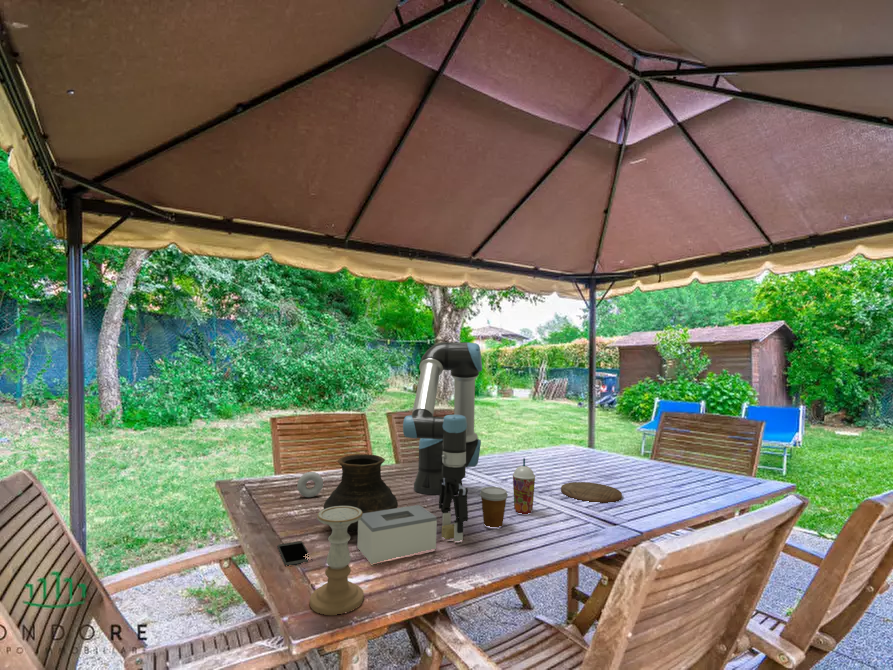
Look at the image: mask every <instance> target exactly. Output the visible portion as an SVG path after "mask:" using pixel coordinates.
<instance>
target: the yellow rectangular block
mask: <svg viewBox="0 0 893 670" xmlns="http://www.w3.org/2000/svg"><path fill="white" fill-rule="evenodd" d="M441 537H444V538H445V539H450V538H454V523H452V524H451V525H446V526H441Z"/></svg>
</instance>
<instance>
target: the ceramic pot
mask: <svg viewBox="0 0 893 670" xmlns="http://www.w3.org/2000/svg"><path fill="white" fill-rule="evenodd" d="M385 461H386V458H384V457H382V456H380V455H376V454H370V453H369V454H368V453H367V454H366V453H362V454H356V453H355V454H351V455H350V454H349V455H345V456H342V457H341V458H339V459H338V461H337V463H338V464H339V465H340V466H341V471H342V472H341V479H340V480H341V481H340V483H339V484H337V487H336V488H335V489H334V490H333V491H332V492H331V493H330V495H329V496H328V498H327V499H326V500H325V502H324V503H323V509H326V508H329V507H334V506H352V507H356V508H359V509H361V510H362V512H363V513H369V512H376V511H382V510H389V509H395V508H399V504H398V500H397V497H396V495H394V494H393V491H392V489H391V488H390V487H389V486H388V485H387V484H386V483H385V481H384V480H383V479H382V473H381V470H382V469H381V468H382V467H381V466H382V464H384V463H385ZM347 531H349V532H354V533H358V521H357V522H354V523H351V524H350V525H349V526H348V528H347Z"/></svg>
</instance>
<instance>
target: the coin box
mask: <svg viewBox="0 0 893 670" xmlns="http://www.w3.org/2000/svg"><path fill="white" fill-rule="evenodd" d="M437 518H438V517H437V515H435V514H433V513H431V512H430V511H429V510H427V509H426V508H425V507H423V506H422V505H420V504H415V505H410V506H404V507H397V508H395V509H389V510H382V511H376V512H369V513H363V516H362V518H361V519H360V520H359V521H358V532H357V544H356V545H357V546H356V548H357V547H358V549H359V550H360V551H361V552H362V553H363V555H364V556H365V557H366V558H367V559H368V561H369V562H370V563H371V564H373V563H377V562H380V561H384V560H388V559H392V558H396V557H401V556H405V555H410V554H414V553H418V552H421V551H426V550H431V549H436V550H437V529H438V528H437V521H438V520H437ZM358 549H357V550H358ZM359 550H358V551H359ZM360 551H359V552H360ZM363 555H362V556H363ZM364 556H363V557H364ZM365 557H364V558H365ZM368 561H367V562H368ZM369 562H368V563H369Z"/></svg>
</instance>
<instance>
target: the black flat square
mask: <svg viewBox="0 0 893 670" xmlns="http://www.w3.org/2000/svg"><path fill="white" fill-rule="evenodd" d="M277 547H278V548H277ZM277 547H276V548H277V550H278V549H279V551H278V552H280V553H279V555H280V554H281V555H280V558H281V557H282V558H281V560H282V559H283V560H282V562H284V563H283V565H284V564H285V565H287V566H289V565H295V566H298V565H297V564H300V565H302V564H301V563H303V562H308V560H309V559H308V560H307V558H306V559H305V557H303V556H305V554H307V553H309V551H308V549H307V548H306V546H305V544H304V542H303V541H301V540H299V541H291V542H285V543H281V544H280V543H279V544H278V545H277ZM308 555H310V553H309V554H308ZM306 556H307V555H306ZM308 557H309V556H308ZM311 560H312V561H313V558H312V559H311ZM285 565H284V566H285Z"/></svg>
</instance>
